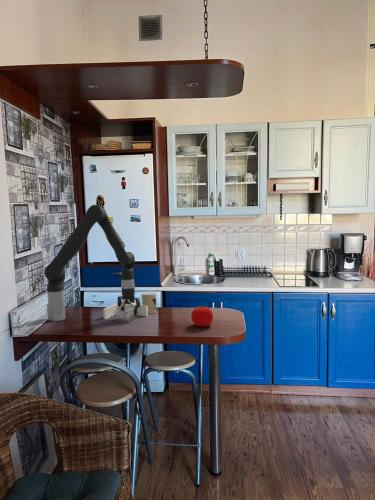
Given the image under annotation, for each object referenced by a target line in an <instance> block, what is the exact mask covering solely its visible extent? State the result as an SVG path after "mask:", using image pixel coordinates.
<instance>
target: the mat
mask: <svg viewBox="0 0 375 500" xmlns="http://www.w3.org/2000/svg"><path fill="white" fill-rule="evenodd" d="M138 318H140V316H139V315H136V316H135V317H133V318H131V319H129V320H118V319H114V320H113V321H114V322H119V323H127V324H128V323H130V322H133V321H135V320H138Z"/></svg>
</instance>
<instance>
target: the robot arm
mask: <svg viewBox="0 0 375 500" xmlns="http://www.w3.org/2000/svg"><path fill="white" fill-rule="evenodd" d="M96 223H97V224H98V226H99V227H100V228H101V229H102V231H103V233H104V235H105V237H106V241H108V243H109V245H110V246H111V249H113V251H114V254H115V257H116V259H117V261H118V263H119V264H121V266H123V268H122V270H121V271H120V272H121V273H120V275H121V276H120V277H121V283H120V284H121V287H120V288H121V295H118V296H117V303H118V306H119V307H121V310H123V311H125V307H124V306H125V304H129V305H130V304H131V306H132V307H133V308H134V315H136V316H138V315H137V308H139V307H140V305H141V300H140V296H138V297H135V295H136V291H135V290H136V289H135V286H136V285H135V278H134V277H135V276H134V270H135V263H136V260H135V259H136V258H135V255H134V253H132V252H131V251H126V249H125V247H126V244H125V242H124V241H123V240H122V238H121V237H120V235H119V233H118V232H117V231H116V229H115V227H114V226H113V224H112V222H111V220H110V218H109V215H108V213H107V211H106V209H105V207H103V206H101V205H98V204H92V205H90V206H89V207H88V208H87V209H86V211H85V214H84V215H83V217H82V218H81V221H80V222H79V223H78V224H77V226H76V227H75V229H74V230H73V231H72V232H71V234H70V235H69V236H68V237H67V239H66V240H65V242H64V243H63V245H62V246H61V248H60V250H59V251H58V253H57V254H56V255H55V257H54V258H53V259H52V260H51V261H50V263H48V265H46V267H45V269H44V272H43V273H44V276H45V278H46V279H47V281H48V282H47V286H46V292H47V293H46V294H47V304H46V311H47V320H48V321H50V322H59V321H64V320H66V317H67V316H66V304H65V303H66V300H65V288H64V287H65V271H64V269H65V267H66V266H67V264H68V263H69V262H70V261H71V260H72V259H73V258H74V257H75V256H76V255H77V254H78V252H80V250H81V249H82V248H83V246H84V245H85V243H86V242H87V239H88V236H89V234H90V231H91V229H92V228H93V227H94V226H95V224H96Z"/></svg>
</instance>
